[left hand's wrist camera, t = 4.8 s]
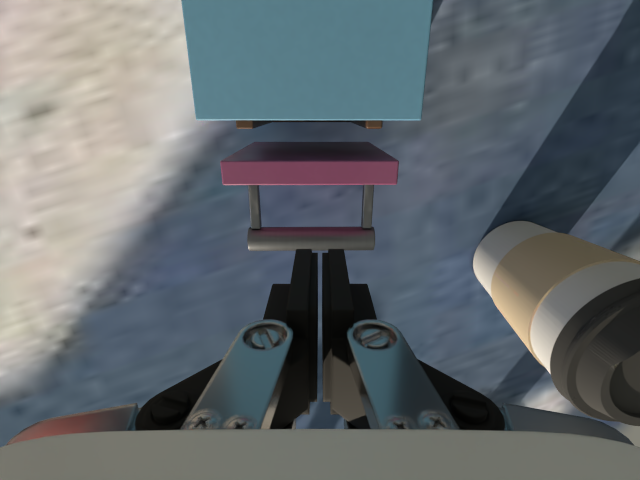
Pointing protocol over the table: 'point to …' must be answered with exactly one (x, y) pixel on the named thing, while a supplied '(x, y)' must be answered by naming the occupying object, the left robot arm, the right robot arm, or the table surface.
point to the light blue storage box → (308, 58)
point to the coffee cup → (570, 313)
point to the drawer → (310, 169)
